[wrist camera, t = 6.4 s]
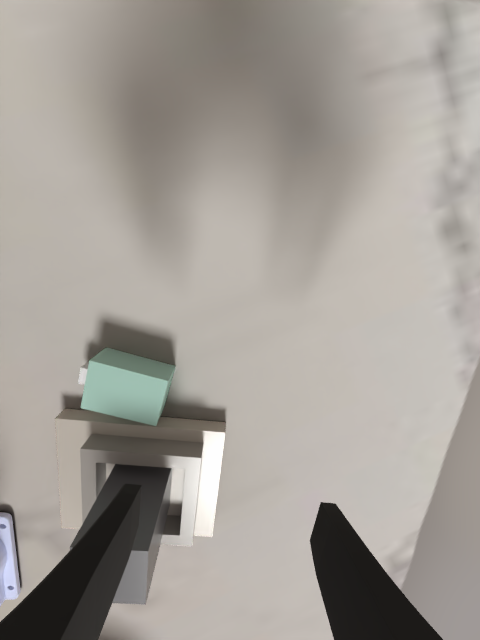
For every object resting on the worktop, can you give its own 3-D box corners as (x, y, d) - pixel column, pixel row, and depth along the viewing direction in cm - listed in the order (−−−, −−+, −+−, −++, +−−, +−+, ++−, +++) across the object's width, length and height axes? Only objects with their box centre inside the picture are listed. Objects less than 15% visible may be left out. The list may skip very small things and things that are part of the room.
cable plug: (165, 405, 20) (156, 426, 18) (88, 385, 19) (67, 404, 17) (176, 364, 19) (168, 381, 17) (96, 343, 19) (76, 356, 16)
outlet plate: (213, 522, 23) (210, 557, 20) (70, 513, 22) (48, 548, 19) (225, 422, 20) (224, 447, 18) (65, 408, 20) (39, 432, 17)
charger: (169, 505, 21) (145, 606, 15) (117, 501, 20) (71, 603, 14) (172, 462, 20) (147, 553, 14) (118, 458, 19) (68, 549, 13)
